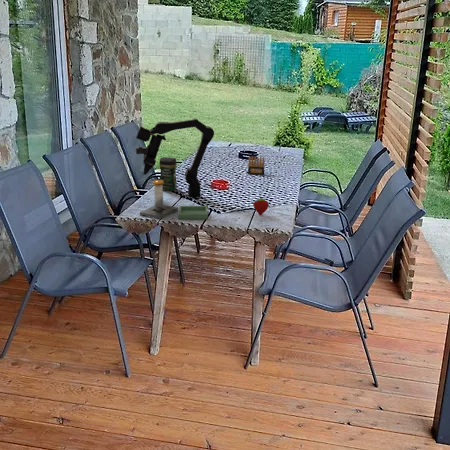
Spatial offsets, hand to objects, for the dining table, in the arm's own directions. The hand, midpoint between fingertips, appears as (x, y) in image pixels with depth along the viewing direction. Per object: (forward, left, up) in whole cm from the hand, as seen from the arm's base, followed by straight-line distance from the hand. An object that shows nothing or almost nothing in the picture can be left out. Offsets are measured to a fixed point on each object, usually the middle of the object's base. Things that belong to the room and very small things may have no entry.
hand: (144, 172), depth 283 cm
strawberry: (-64, -20, -14) cm, 69 cm away
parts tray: (-40, +3, -14) cm, 43 cm away
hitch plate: (-26, +12, -14) cm, 32 cm away
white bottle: (-26, +12, -14) cm, 32 cm away
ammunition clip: (-7, -85, -14) cm, 87 cm away
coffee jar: (+5, -20, -14) cm, 25 cm away
